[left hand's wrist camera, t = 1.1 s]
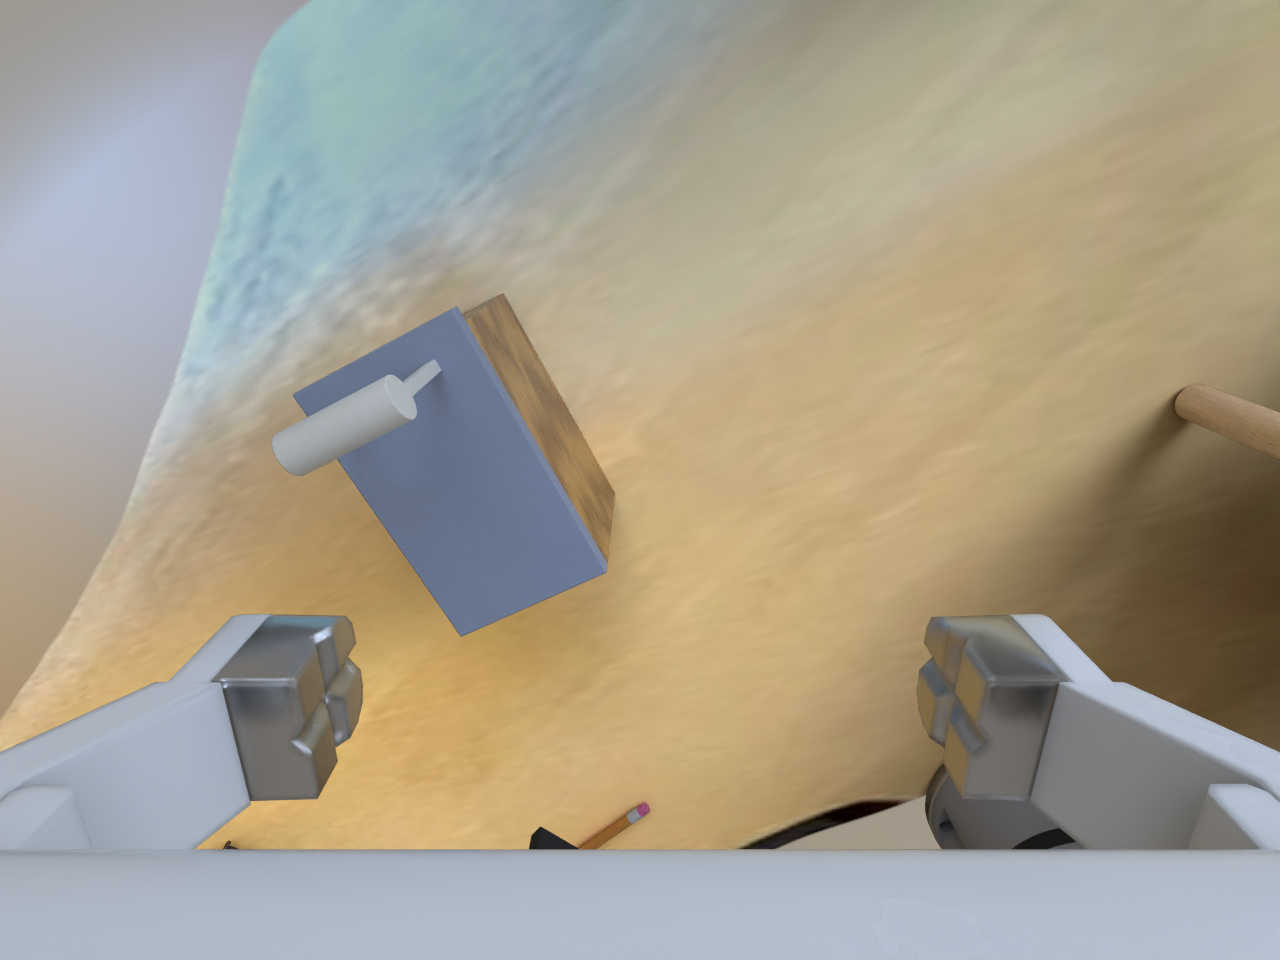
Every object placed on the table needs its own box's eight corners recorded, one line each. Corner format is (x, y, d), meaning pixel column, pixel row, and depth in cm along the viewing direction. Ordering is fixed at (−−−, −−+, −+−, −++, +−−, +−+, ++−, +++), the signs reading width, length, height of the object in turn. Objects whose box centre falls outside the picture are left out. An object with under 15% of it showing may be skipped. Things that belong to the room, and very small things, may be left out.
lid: (301, 389, 40) (212, 442, 32) (457, 305, 38) (405, 338, 30) (465, 626, 46) (425, 723, 38) (607, 563, 44) (598, 649, 36)
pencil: (641, 800, 65) (495, 903, 70) (645, 812, 64) (497, 914, 69) (648, 801, 65) (502, 903, 70) (652, 813, 65) (504, 914, 70)
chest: (377, 359, 51) (311, 402, 41) (503, 292, 49) (466, 320, 39) (497, 547, 56) (465, 626, 46) (615, 493, 54) (607, 562, 44)
